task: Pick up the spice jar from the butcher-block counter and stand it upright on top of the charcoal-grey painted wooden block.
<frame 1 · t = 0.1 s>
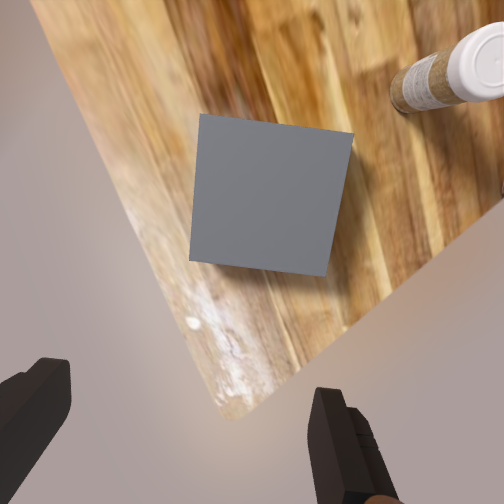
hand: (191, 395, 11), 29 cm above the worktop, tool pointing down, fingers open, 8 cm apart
grey block: (265, 193, 39), on the worktop
spice jar: (409, 90, 35), on the worktop
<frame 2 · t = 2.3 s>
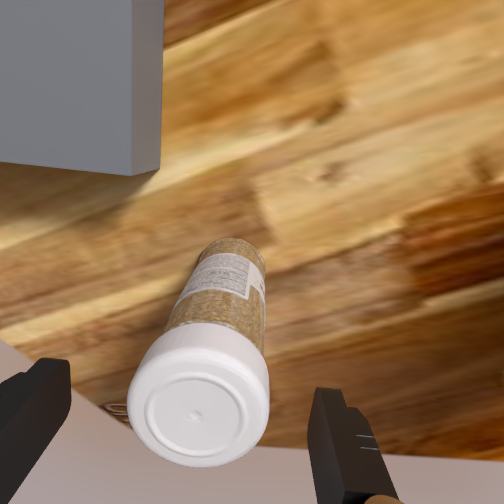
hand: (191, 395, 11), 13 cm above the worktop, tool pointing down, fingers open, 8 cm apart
grey block: (38, 26, 20), on the worktop
spice jar: (232, 266, 24), on the worktop
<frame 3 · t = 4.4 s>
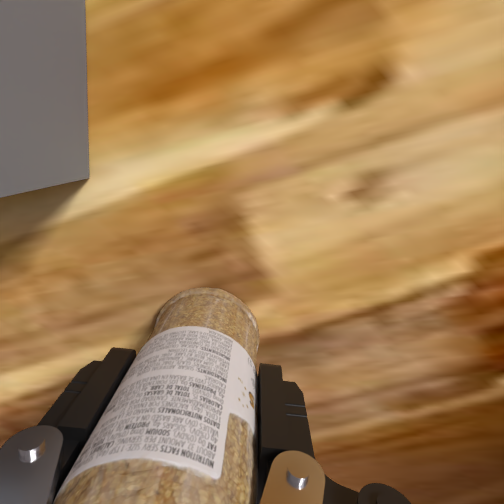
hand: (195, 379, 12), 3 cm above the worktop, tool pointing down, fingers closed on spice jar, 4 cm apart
spice jar: (208, 328, 16), on the worktop, touching gripper
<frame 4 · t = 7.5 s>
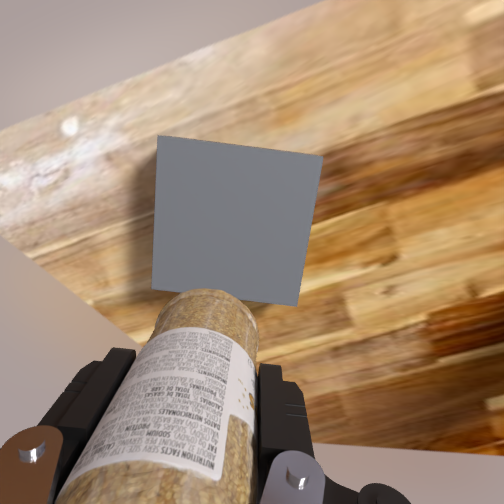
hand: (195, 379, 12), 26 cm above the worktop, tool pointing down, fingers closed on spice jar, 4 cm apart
grey block: (235, 215, 36), on the worktop
spice jar: (208, 329, 16), point 22 cm above the worktop, touching gripper
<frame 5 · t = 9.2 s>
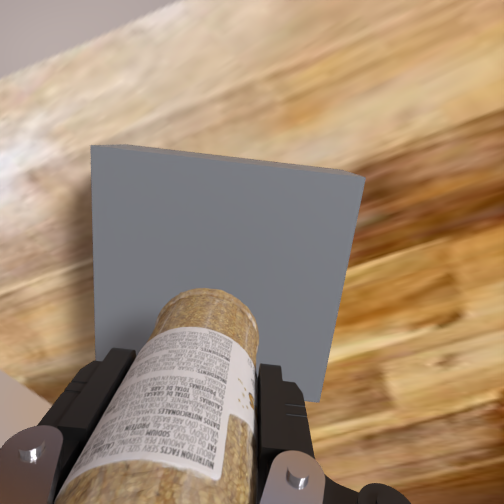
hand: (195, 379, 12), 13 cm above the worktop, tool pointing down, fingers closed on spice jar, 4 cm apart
grey block: (225, 260, 25), on the worktop
spice jar: (208, 328, 16), point 10 cm above the worktop, touching gripper
when the fingers open (10 cm above the worktop, at t = 10.6 s): spice jar drops 1 cm, resting on grey block.
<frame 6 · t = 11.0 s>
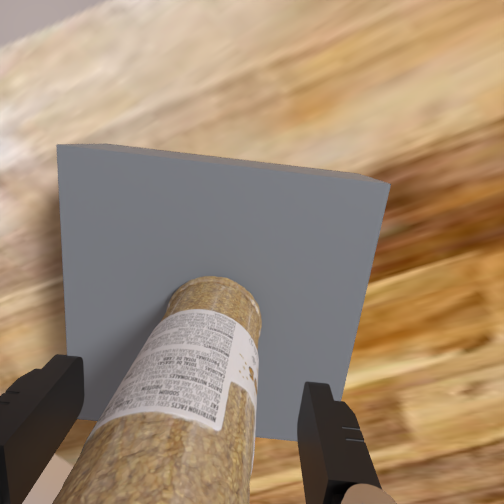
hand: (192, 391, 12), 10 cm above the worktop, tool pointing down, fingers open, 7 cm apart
grey block: (221, 276, 22), on the worktop
spice jar: (215, 313, 17), point 5 cm above the worktop, touching grey block
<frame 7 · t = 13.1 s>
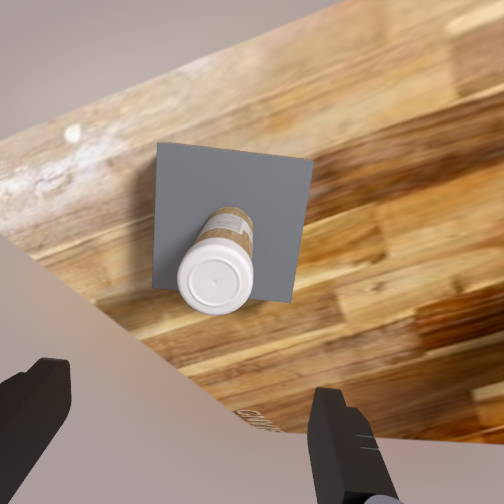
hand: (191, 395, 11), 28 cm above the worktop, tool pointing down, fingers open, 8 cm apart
grey block: (231, 217, 38), on the worktop
spice jar: (230, 228, 34), point 5 cm above the worktop, touching grey block
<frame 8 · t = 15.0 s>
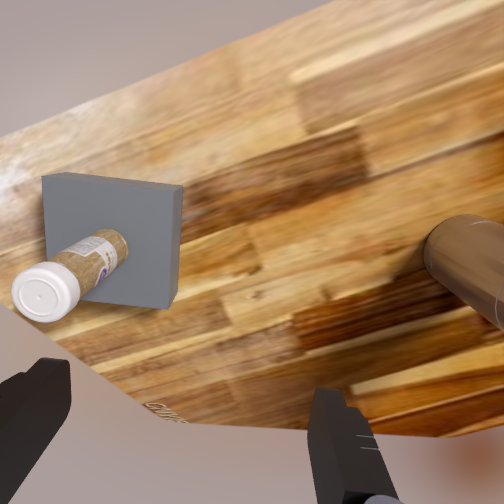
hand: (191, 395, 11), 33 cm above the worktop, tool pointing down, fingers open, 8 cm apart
grey block: (124, 235, 44), on the worktop
spice jar: (110, 246, 40), point 5 cm above the worktop, touching grey block
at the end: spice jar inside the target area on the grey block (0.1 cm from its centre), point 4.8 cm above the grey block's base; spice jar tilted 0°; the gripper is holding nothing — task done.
